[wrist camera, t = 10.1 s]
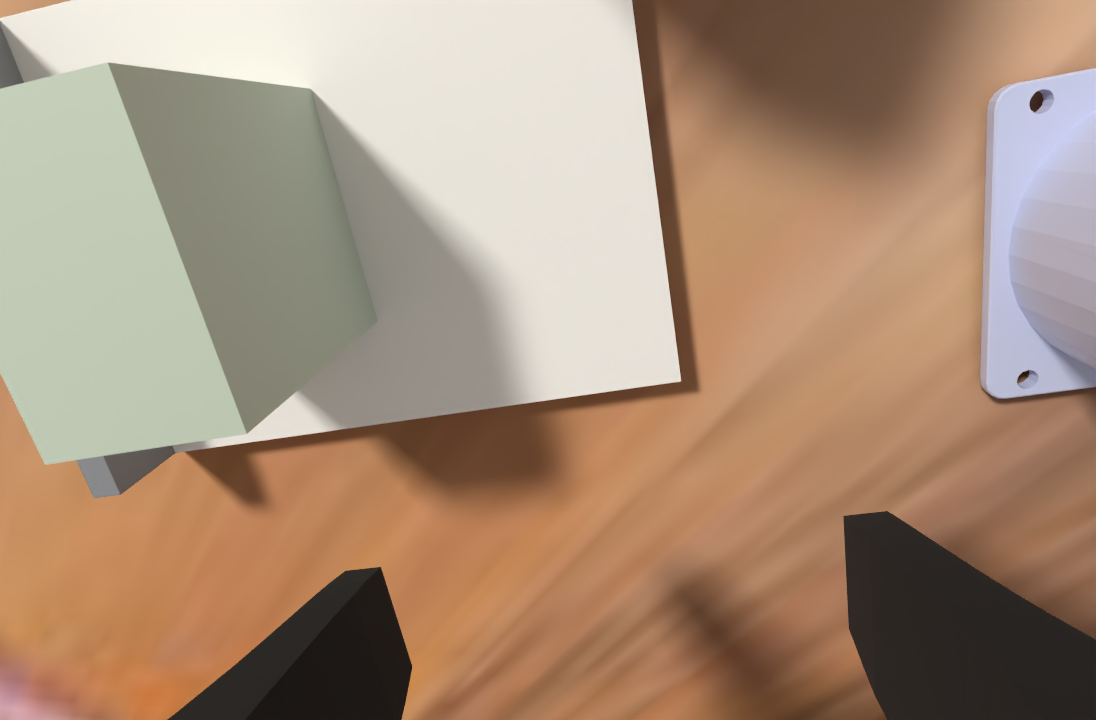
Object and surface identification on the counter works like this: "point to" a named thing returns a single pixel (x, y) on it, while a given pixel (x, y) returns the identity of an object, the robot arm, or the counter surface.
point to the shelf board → (434, 189)
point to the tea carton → (166, 257)
